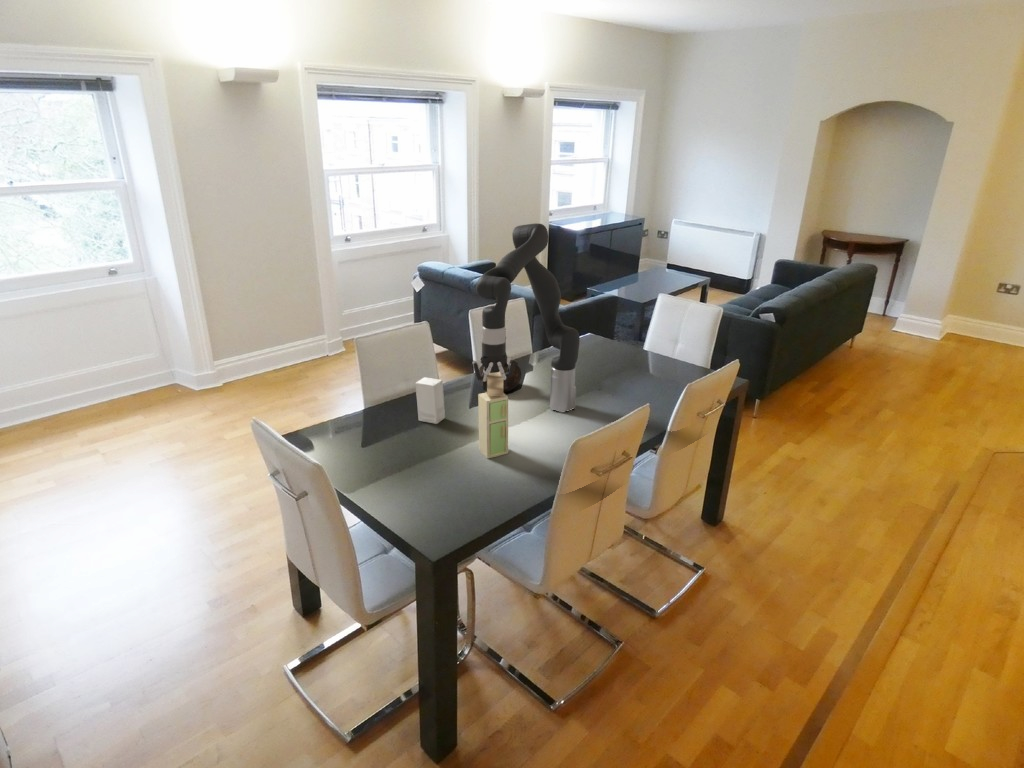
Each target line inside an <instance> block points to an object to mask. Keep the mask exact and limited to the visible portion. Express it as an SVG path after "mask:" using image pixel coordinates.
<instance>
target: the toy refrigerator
mask: <svg viewBox="0 0 1024 768" xmlns="http://www.w3.org/2000/svg"><path fill="white" fill-rule="evenodd" d="M477 397H478V399H477V400H478V403H477V404H478V405H477V406H478V409H477V410H478V447H479V448H478V449H479V452H480V453H481V454H482V456H484V457H485V458H486V459H492V458H497V457H500V456H503V455H504V456H505V455H508V454H509V396H508V395H507V394H506V393H505V392H503V395H500V396H489V397H488V396H487V394H486V392H482V393H478V394H477Z"/></svg>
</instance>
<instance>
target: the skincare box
mask: <svg viewBox="0 0 1024 768" xmlns="http://www.w3.org/2000/svg"><path fill="white" fill-rule="evenodd" d="M415 394H416V403H417V404H416V405H417V406H416V407H417V416H418V421H419V422H424V423H430V424H433V425H437V424H439V423H441V421H443V420H444V419H445V418H446V413H445V397H444V385H443V379H439V378H431V377H426V376H424V377H422V378H421V379H419V380H417V381H416V382H415Z"/></svg>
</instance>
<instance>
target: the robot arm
mask: <svg viewBox="0 0 1024 768" xmlns="http://www.w3.org/2000/svg"><path fill="white" fill-rule="evenodd" d="M511 236H512V243H513V247H514V249H513V250H512V251H510V252H508V253H507V254H506V255H504V256H503V257H502V258H501V259H500V260H499V262H498V263H497V264H496V266H495V267H493V268H491V269H489V270H488V271H486V272H484V273H483V274H482V275H481V276H480V277H479V278H478V279H477V281H476V285H475V291H476V294H477V296H478V297H480V298H481V299H485V300H492V301H496V303H495V305H488V306H485V307H484V308H483V309H482V314H481V316H482V320H481V321H482V323H481V324H482V329H481V358H480V359H479V360H472V361H471V363H472V367H473V371H474V374H475V378H476V379H477V380H478V381H480V380H482V384H481V389H482V391H484V393H486V392H487V381H486V380H487V377H488V375H489V373H490V372H492V371H499V372H500V374H501V376H503V390H504V388H506V379H507V378H508V377H512V373H513V369H514V365H515V362H516V360H515V358H513V357H509V358H508V356H507V357H506V355H507V349H506V347H507V346H506V343H507V342H506V341H507V333H506V330H505V329H506V312H507V307H508V302H509V299H510V295H511V293H512V285H511V284H512V283H513V282H514V281H515V279H516V278H517V277H518V276H519V274H520V272H521V271H522V270H523V269H524V270H525V272H526V274H527V277H528V278H527V279H528V282H530V283H529V284H530V286H531V287H530V288H531V289H532V292H533V296H534V298H535V301H536V304H537V305H538V310H539V312H540V314H541V318H542V321H543V324H544V325H543V326H544V329H545V333H546V338H547V341H548V343H549V345H550V346H551V347H553V348H555V349H557V350H560V351H559V356H556V357H553V358H552V359H551V362H550V389H549V390H550V391H549V392H550V393H549V409H550V408H551V409H553V410H557V411H567V410H570V409H572V408H575V409H576V397H577V386H576V385H575V383H576V382H575V381H576V364H577V361H578V358H579V351H580V350H579V349H580V342H581V341H580V340H581V339H580V333H579V331H578V329H576V328H574V327H572V326H571V327H570V326H568V325H565V324H564V323H563V321H562V319H561V316H560V313H559V309H560V305H561V301H562V294H561V289H560V286H559V284H558V281H557V278H556V277H555V275H554V274H553V273H552V272H551V271H550V270H549V269H547V267H545V265H543V264H542V263H541V262H540V261H539V260H538V258H537V256H538V255H539V254H541V252H543V251H544V250H545V249H546V247H547V246H548V243H549V231H548V229H547V227H546V225H544V224H543V223H536V222H535V223H529V224H522V225H521V224H520V225H518V226H517V225H516V226H515V227H514V228H513V229H512V235H511ZM506 362H507V364H508V369H507V373H505V372H504V370H503V366H504V365H505V363H506ZM482 364H483V366H484V369H483V374H482V375H480V372H479V368H480V367H481V365H482ZM551 409H550V410H551ZM553 410H552V411H553Z"/></svg>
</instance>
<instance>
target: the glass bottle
mask: <svg viewBox="0 0 1024 768" xmlns="http://www.w3.org/2000/svg"><path fill="white" fill-rule="evenodd" d="M506 330H507V328H505V331H506ZM506 357H507V358H508V354H506ZM478 369H479V372H480V375H482V374H483V369H484V366H483V364H482V363H481V364H480V367H479V368H478ZM507 369H508V364H507V362H506V363H505V365H504V366H503V370H504V372H505V373H507ZM497 372H499V371H492V372H490V373H497ZM521 380H522V370H521V368H520V366H519V363H518V362H517V361H515V365H514V369H513V373H512V377H508V378H507V379H506V388H504V390H503V393H507V392H510V391H512V390H514V389H515V388H516V387H517V386H518V385H519V384H520V382H521ZM479 383H480V384H481V385H482V380H479Z"/></svg>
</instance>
